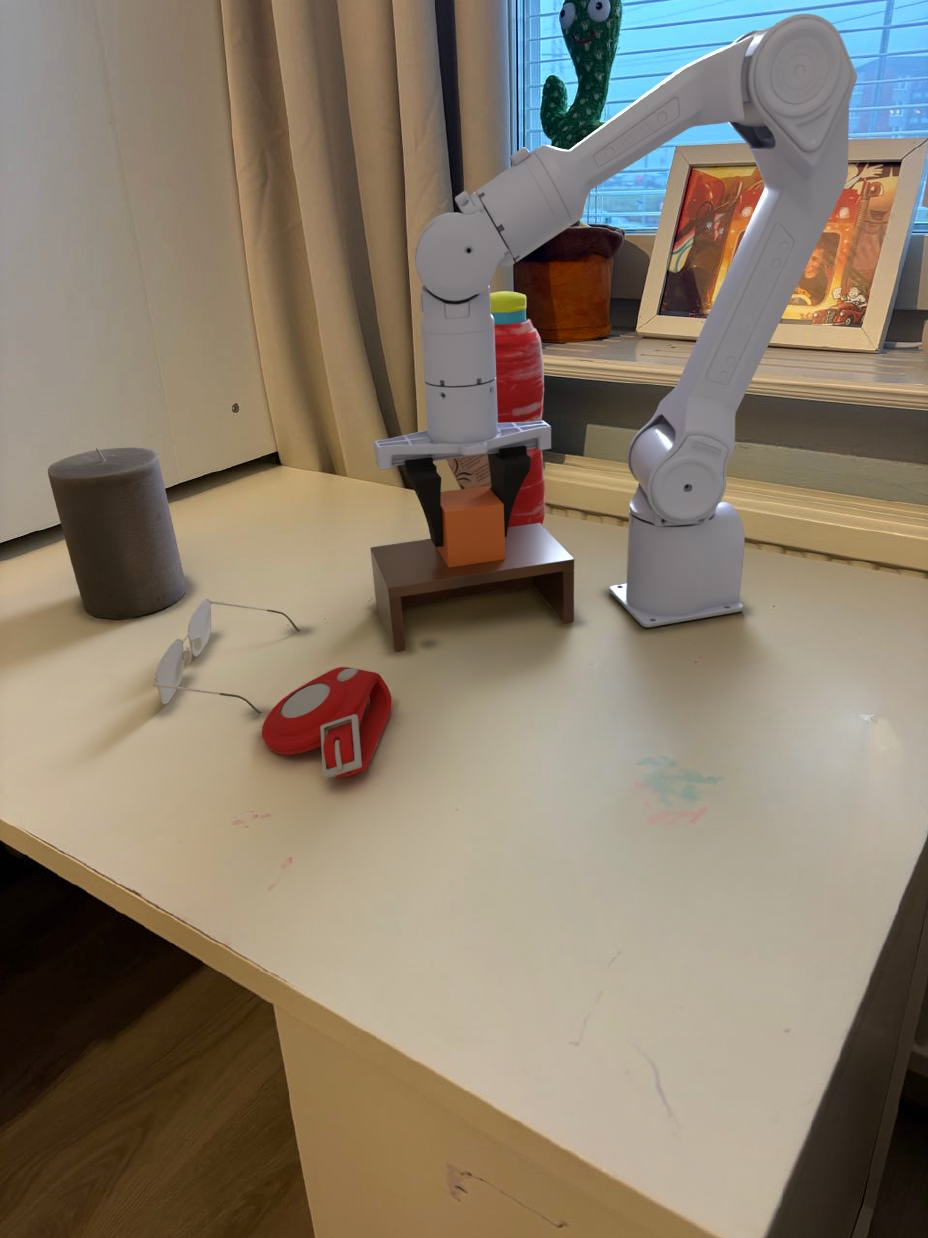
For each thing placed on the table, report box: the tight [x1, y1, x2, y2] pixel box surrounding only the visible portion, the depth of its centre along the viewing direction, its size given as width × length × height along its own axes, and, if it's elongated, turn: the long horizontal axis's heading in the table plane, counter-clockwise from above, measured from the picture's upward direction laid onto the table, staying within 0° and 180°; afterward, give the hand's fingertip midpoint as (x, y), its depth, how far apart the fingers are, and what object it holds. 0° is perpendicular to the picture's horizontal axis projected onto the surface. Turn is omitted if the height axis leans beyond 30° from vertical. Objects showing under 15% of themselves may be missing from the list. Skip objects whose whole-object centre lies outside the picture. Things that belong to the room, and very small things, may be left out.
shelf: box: [369, 523, 575, 653], centre depth 80 cm, size 16×9×6 cm, turn 105°
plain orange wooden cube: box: [436, 486, 505, 568], centre depth 77 cm, size 5×5×5 cm
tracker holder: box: [261, 666, 393, 779], centre depth 64 cm, size 12×4×10 cm
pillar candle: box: [47, 446, 187, 620], centre depth 85 cm, size 10×10×15 cm
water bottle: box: [445, 290, 546, 527], centre depth 90 cm, size 12×8×25 cm, turn 124°
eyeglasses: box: [152, 598, 301, 715], centre depth 74 cm, size 14×8×4 cm, turn 176°
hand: (468, 538), depth 78 cm, fingers closed on plain orange wooden cube, 5 cm apart
